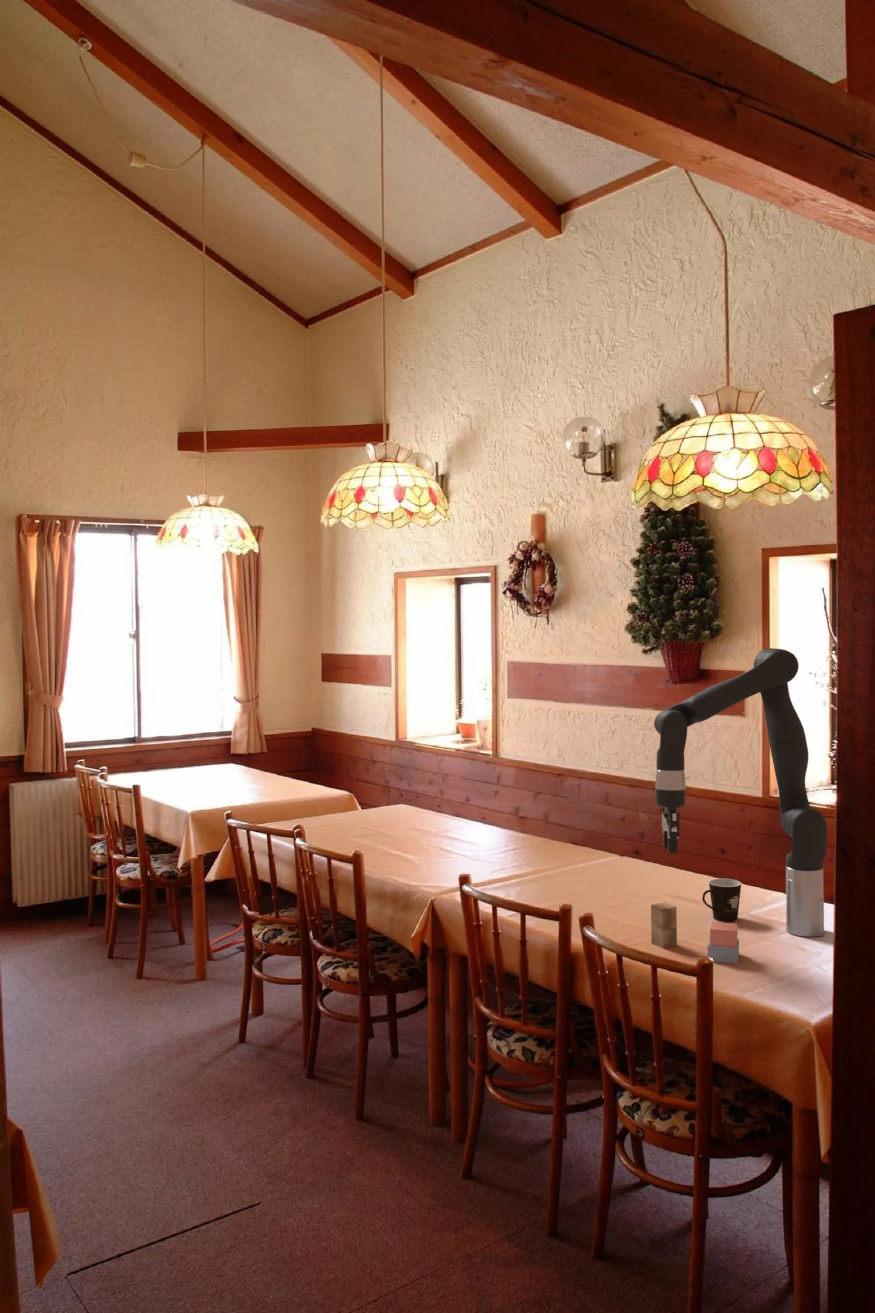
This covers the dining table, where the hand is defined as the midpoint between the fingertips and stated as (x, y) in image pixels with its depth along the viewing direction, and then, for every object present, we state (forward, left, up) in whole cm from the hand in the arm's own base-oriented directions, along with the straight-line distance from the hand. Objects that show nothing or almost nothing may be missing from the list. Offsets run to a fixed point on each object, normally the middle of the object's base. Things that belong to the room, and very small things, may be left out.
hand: (670, 850), depth 261 cm
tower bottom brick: (-14, +9, -24) cm, 29 cm away
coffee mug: (-11, -23, -24) cm, 35 cm away
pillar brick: (+1, +3, -24) cm, 24 cm away
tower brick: (-14, +9, -20) cm, 26 cm away
